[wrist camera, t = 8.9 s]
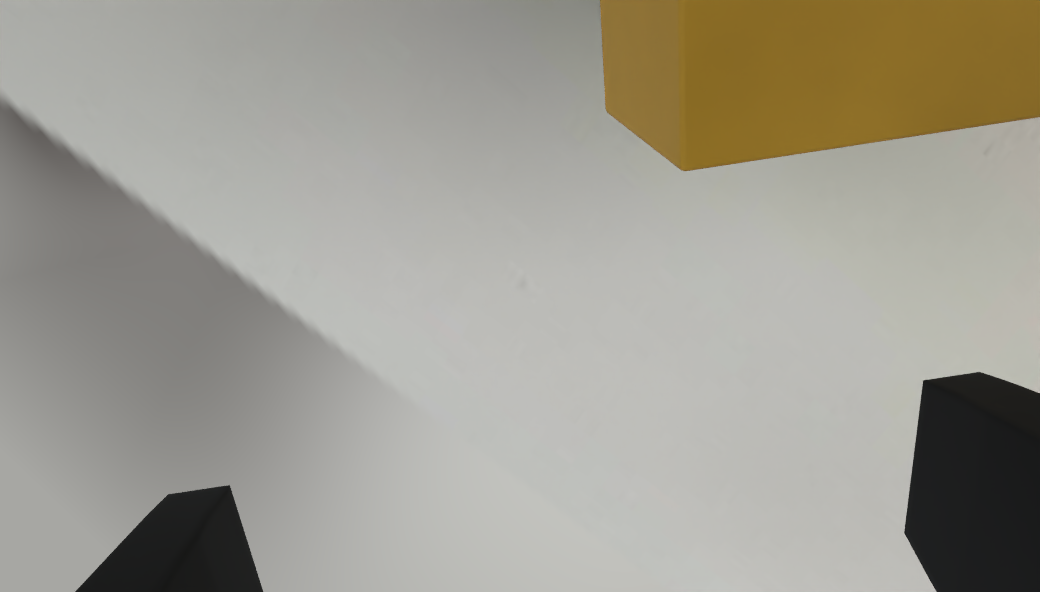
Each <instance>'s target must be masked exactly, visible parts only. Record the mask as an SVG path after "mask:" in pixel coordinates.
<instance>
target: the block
mask: <svg viewBox="0 0 1040 592" xmlns="http://www.w3.org/2000/svg"><path fill="white" fill-rule="evenodd" d="M600 8H601V27H602V47H603V66H604V86H605V105H606V111H607V113H609V114H610V115H611V116H613V117H614V118H615V119H616V120H618V121H619V122H620V123H621V124H623V125H624V126H625V127H627V128H628V129H629V130H630V131H632V132H633V133H634V134H636V135H637V136H638V137H639V138H641V139H642V140H643V141H645V142H646V143H647V144H648V145H650V146H651V147H652V148H654V149H655V150H656V151H657V152H659V153H660V154H661V155H662V156H664V157H665V158H666V159H668V160H669V161H670V162H671V163H673V164H674V165H675V166H677V167H678V168H679V169H680V170H683V171H690V170H696V169H703V168H709V167H716V166H722V165H729V164H736V163H742V162H749V161H755V160H762V159H768V158H775V157H781V156H788V155H794V154H801V153H808V152H814V151H821V150H827V149H834V148H840V147H847V146H853V145H860V144H866V143H873V142H879V141H886V140H893V139H899V138H906V137H912V136H919V135H925V134H932V133H938V132H945V131H951V130H958V129H965V128H971V127H978V126H984V125H991V124H997V123H1004V122H1010V121H1017V120H1023V119H1030V118H1037V117H1040V0H600Z"/></svg>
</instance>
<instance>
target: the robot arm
mask: <svg viewBox="0 0 1040 592" xmlns="http://www.w3.org/2000/svg"><path fill="white" fill-rule="evenodd" d="M904 533H905V535H906V537H907V539H908V540H909V542H910V544H911V546H912V548H913V550H914V551H915V553H916V555H917V557H918V559H919V561H920V563H921V564H922V566H923V568H924V570H925V572H926V574H927V575H928V577H929V579H930V581H931V583H932V584H933V586H934V588H935V589H936V591H937V592H1040V393H1037V392H1035V391H1032V390H1029V389H1027V388H1024V387H1021V386H1019V385H1016V384H1013V383H1011V382H1008V381H1005V380H1002V379H999V378H996V377H993V376H990V375H987V374H984V373H981V372H977V373H970V374H963V375H957V376H950V377H943V378H937V379H930V380H924V381H923V387H922V395H921V403H920V411H919V419H918V427H917V435H916V443H915V451H914V459H913V467H912V475H911V483H910V491H909V499H908V508H907V516H906V524H905V532H904ZM76 592H263V590H262V587H261V583H260V580H259V577H258V574H257V571H256V567H255V564H254V561H253V558H252V555H251V552H250V548H249V545H248V542H247V539H246V536H245V532H244V529H243V526H242V523H241V520H240V517H239V513H238V510H237V507H236V504H235V501H234V497H233V495H232V491H231V488H230V486H221V487H215V488H208V489H202V490H195V491H188V492H182V493H175V494H168V495H167V496H166V497H165V498H164V499H163V500H162V501H161V502H160V503H159V504H158V505H157V506H156V507H155V508H154V509H153V510H152V511H151V512H150V513H149V514H148V515H147V516H146V517H145V518H144V519H143V520H142V521H141V522H140V523H139V524H138V525H137V526H136V528H135V529H134V530H133V531H132V532H131V533H130V534H129V535H128V536H127V537H126V538H125V539H124V540H123V541H122V543H120V545H119V546H118V547H117V548H116V549H115V550H114V551H113V552H112V553H111V554H110V555H109V556H108V557H107V559H106V560H105V561H104V562H103V563H102V564H101V565H100V566H99V567H98V568H97V569H96V570H95V571H94V572H93V573H92V575H91V576H90V577H89V578H88V579H87V580H86V581H85V582H84V583H83V584H82V585H81V586H80V587H79V588H78V589H77V590H76Z"/></svg>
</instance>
